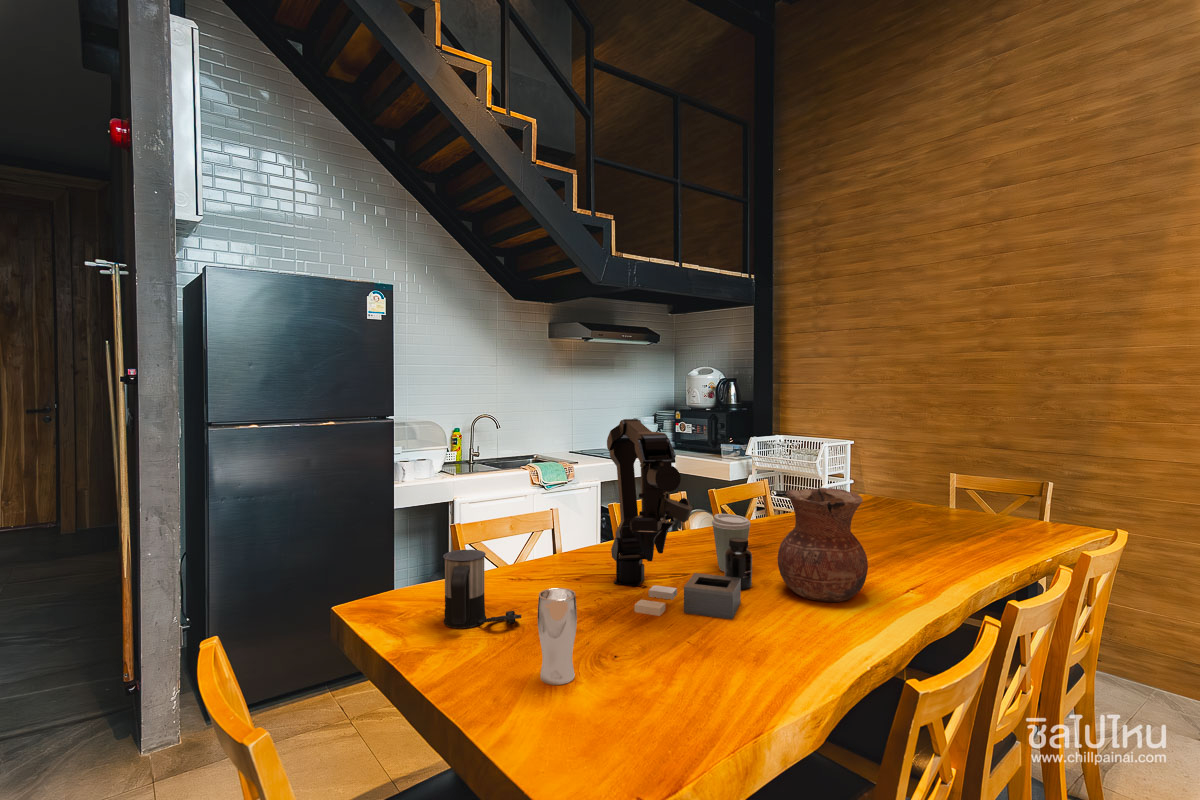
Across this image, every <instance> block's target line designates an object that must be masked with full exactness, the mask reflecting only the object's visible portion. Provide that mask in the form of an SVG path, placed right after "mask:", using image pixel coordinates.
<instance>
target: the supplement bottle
mask: <svg viewBox="0 0 1200 800" xmlns="http://www.w3.org/2000/svg"><path fill="white" fill-rule="evenodd" d="M729 547H730V548H729V549H727V550H726V552H725V572H724V576H727V577H736V578H741V591H743V590H744V591H745V590H748V589H750V588H751V587H752V585H753V584H752V583H753V582H752V581H753V579H752V578H753V554H752V551H751V550H749V549H748V548H749V547H750V545H749V539H748V540H747V539H745V538H730V539H729Z"/></svg>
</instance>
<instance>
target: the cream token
mask: <svg viewBox="0 0 1200 800" xmlns="http://www.w3.org/2000/svg"><path fill="white" fill-rule="evenodd" d="M665 611H666V603H665V602H661V601H655V600H647V599H646V600H645V599H640V600H639V601H637V602H636V603H635V604H634V613H637V614H644V615H645V614H646V615H651V616H658V617H660V616H661V615H662V614H663V613H664V612H665Z"/></svg>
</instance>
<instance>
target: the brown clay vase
mask: <svg viewBox="0 0 1200 800" xmlns="http://www.w3.org/2000/svg"><path fill="white" fill-rule="evenodd" d="M785 494H786V496H787V497H788V499H789V500H790V503H791V505H792V508H793V512H794V516H795V523H794V524H795V526H794V527H793V529H791V530H790V531H789V532H788V534H786V536H785V537H784V538H783V539H782V541H781V543H780V545H779V549H778V550H777V551H778V552H777V557H776V558H777V567H778V570H779V573H780V574H779V575H780V576H781V578H782V580H783V582H784V583H785V585H786V586H787V587H788V588H789V589H790V590H791V591H792V592H793V593H795V594H797V595H798V596H800V597H802V598H804V599H807V600H813V601H818V602H823V603H840V602H841V603H842V602H846V601H849V600H850V599H852V598H853V597H854V596H855V595H857V594H858V593H859V592H860V591H861V590H862V589H863V586H864V584H865V583H866V579H867V576H868V575H867V574H868V570H869V567H868V566H869V565H868V564H869V562H868V556H867V554H866V551H865V549H864V547H863V545H862V544H861V543H860V541H859V539H858V538H857V537H856V536H855V534H853V533H852V530H851V529H852V528H851V527H852V521H853V517H854V515H855V513H856V511H857V510H858V509H859V507H860V506H861V505H862V503H863V498H862V496H861V495H859V494H857V493H855V492H850V491H847V490H845V489H841V488H840V489H839V488H830V487H829V488H828V487H827V488H826V487H818V488H803V489H800V490H796V489H789V490H786V492H785Z"/></svg>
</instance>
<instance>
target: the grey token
mask: <svg viewBox="0 0 1200 800" xmlns="http://www.w3.org/2000/svg"><path fill="white" fill-rule="evenodd" d="M675 596H676V597H677V596H678V588H677V587H672V586H663V585H652V586H651V588H649V589H648V598H654V597H656V598H655V599H661V598H663V600H668V599H671V600H670V601H673V600H674V599H675V598H676V597H675ZM674 597H675V598H674Z"/></svg>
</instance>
